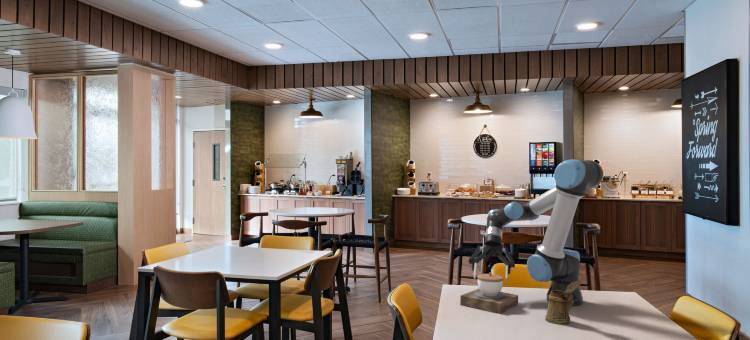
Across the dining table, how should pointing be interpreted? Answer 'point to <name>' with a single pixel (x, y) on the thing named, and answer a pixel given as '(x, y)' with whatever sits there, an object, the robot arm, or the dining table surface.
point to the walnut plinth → (489, 301)
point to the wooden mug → (561, 304)
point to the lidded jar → (490, 284)
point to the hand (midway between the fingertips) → (490, 278)
